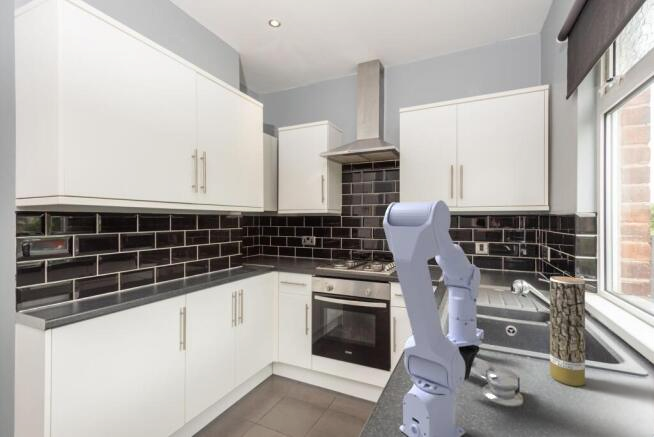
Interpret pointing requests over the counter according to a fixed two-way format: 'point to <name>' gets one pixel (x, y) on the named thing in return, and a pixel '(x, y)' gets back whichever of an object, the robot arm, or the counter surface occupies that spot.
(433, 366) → the robot arm
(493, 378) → the elbow
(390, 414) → the counter surface
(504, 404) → the duct stub
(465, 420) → the counter surface
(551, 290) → the paper tube
